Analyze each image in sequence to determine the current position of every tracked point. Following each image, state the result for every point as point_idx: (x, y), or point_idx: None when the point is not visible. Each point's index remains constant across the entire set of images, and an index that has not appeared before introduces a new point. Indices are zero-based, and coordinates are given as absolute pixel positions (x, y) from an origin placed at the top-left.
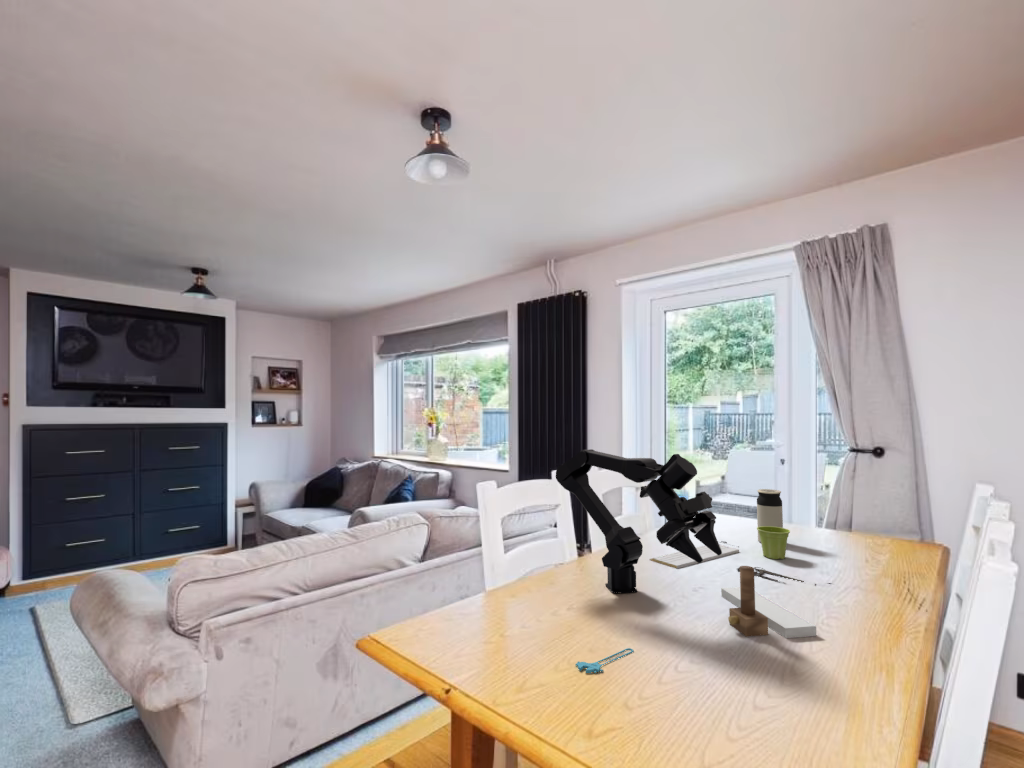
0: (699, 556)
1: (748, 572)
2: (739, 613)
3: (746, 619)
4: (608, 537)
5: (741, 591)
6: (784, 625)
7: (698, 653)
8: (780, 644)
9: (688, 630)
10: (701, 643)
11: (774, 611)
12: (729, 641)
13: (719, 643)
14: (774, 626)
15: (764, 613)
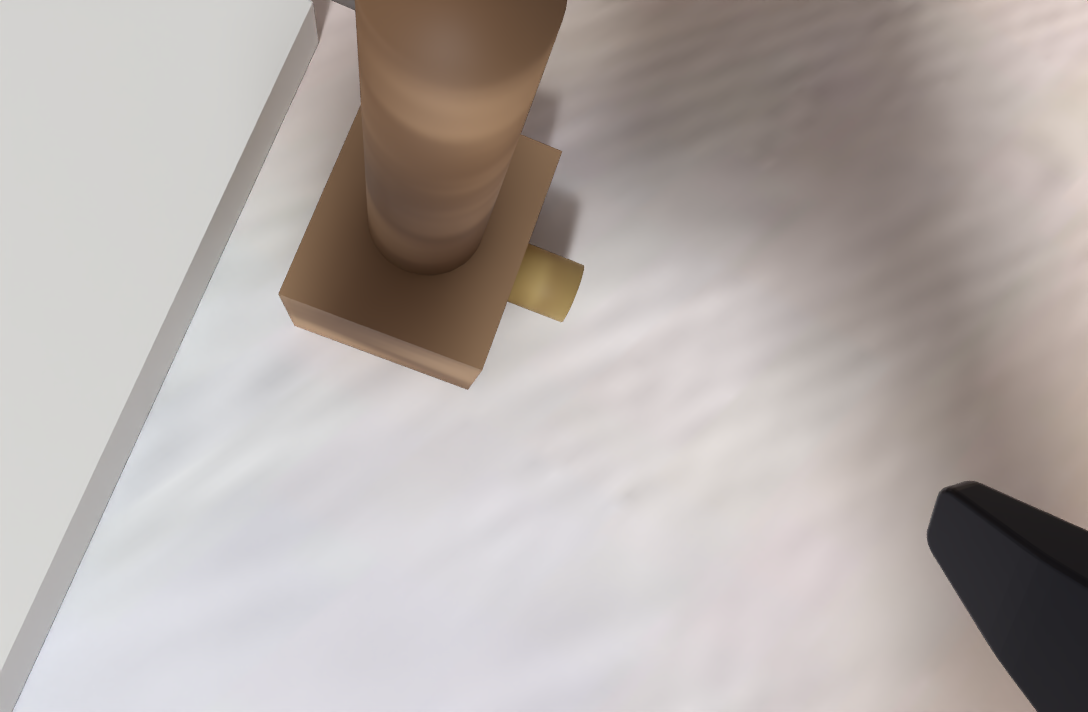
0: (1049, 516)
1: None
2: (504, 249)
3: (554, 149)
4: None
5: (508, 166)
6: (266, 31)
7: (966, 213)
8: None
9: (806, 471)
10: (865, 290)
11: (40, 229)
12: (691, 216)
13: (768, 231)
14: (266, 131)
15: (167, 251)
